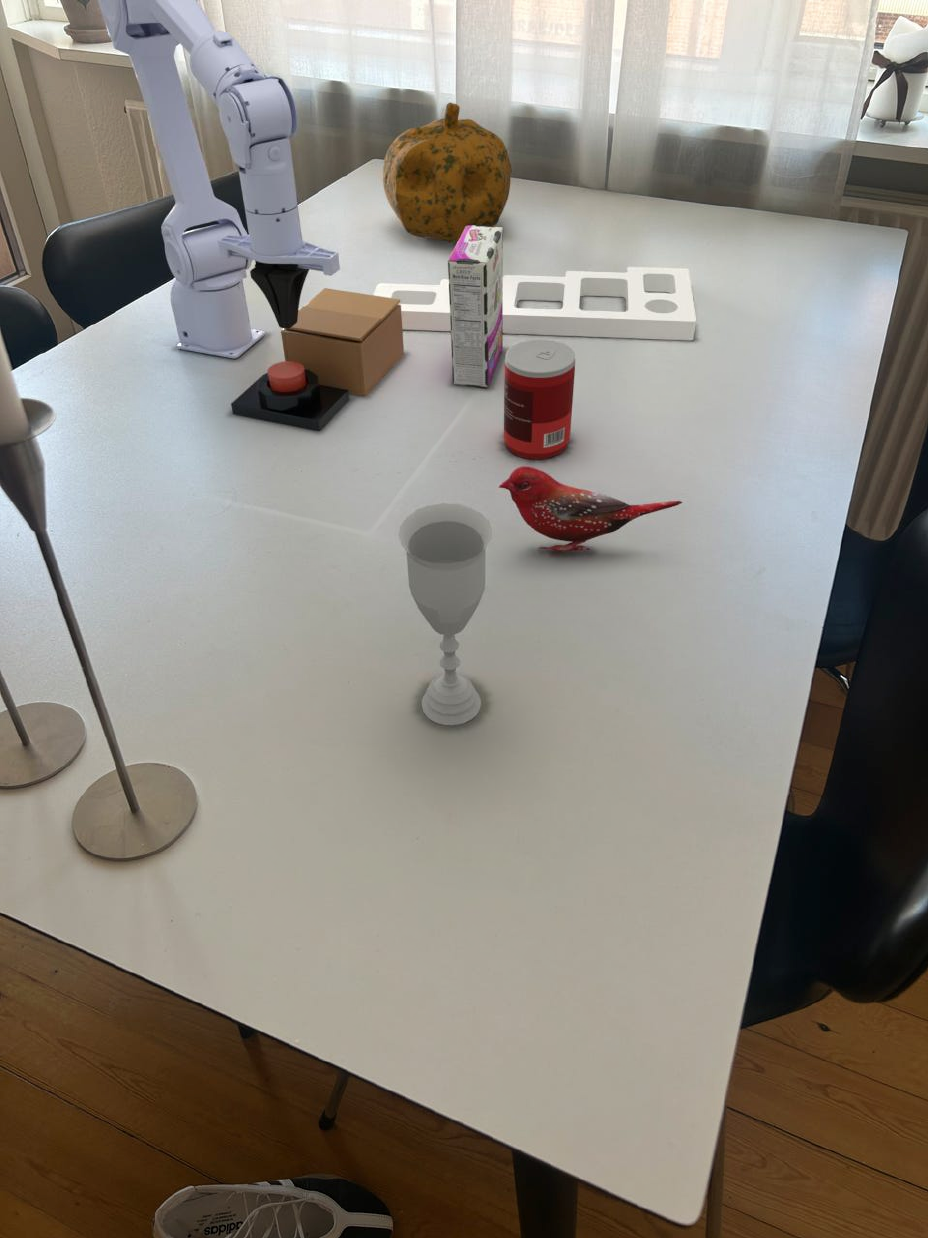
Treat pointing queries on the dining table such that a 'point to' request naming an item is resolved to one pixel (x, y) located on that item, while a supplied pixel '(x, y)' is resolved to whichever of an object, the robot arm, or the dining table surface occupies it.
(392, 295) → the holder
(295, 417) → the block
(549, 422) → the canned food
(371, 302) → the flap
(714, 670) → the dining table surface
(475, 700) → the chalice
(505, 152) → the decorative pumpkin
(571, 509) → the decorative bird figurine
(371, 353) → the carton
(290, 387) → the button
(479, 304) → the candy bar box
